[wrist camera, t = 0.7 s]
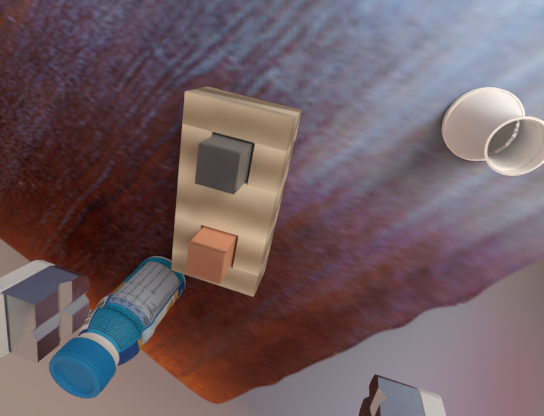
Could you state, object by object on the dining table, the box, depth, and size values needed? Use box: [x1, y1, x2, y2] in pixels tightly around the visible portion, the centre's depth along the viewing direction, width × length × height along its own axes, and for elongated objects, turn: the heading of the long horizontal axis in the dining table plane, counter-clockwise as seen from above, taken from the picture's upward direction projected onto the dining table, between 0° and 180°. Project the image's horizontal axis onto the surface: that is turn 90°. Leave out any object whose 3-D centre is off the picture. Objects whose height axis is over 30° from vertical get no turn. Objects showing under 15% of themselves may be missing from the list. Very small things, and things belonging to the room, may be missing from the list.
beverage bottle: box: [49, 256, 186, 398], centre depth 47 cm, size 8×8×20 cm
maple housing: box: [171, 87, 302, 297], centre depth 44 cm, size 24×12×6 cm, turn 169°
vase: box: [442, 87, 544, 176], centre depth 32 cm, size 8×8×10 cm
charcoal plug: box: [195, 133, 255, 195], centre depth 37 cm, size 4×4×6 cm
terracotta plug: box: [186, 226, 238, 284], centre depth 42 cm, size 4×4×6 cm
